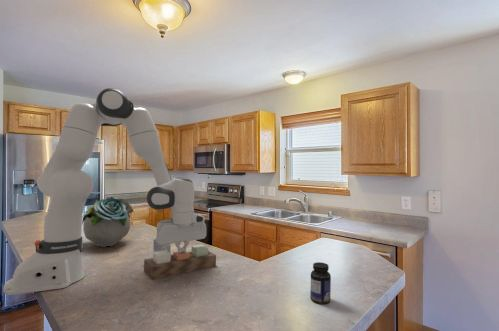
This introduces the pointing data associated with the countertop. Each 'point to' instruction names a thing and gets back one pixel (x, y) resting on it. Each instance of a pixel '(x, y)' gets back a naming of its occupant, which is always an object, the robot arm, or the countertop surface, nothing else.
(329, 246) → the countertop surface
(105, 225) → the flower arrangement
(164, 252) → the cream key
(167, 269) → the key panel
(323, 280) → the pill bottle
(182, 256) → the terracotta key
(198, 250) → the sage key
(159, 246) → the medicine box
